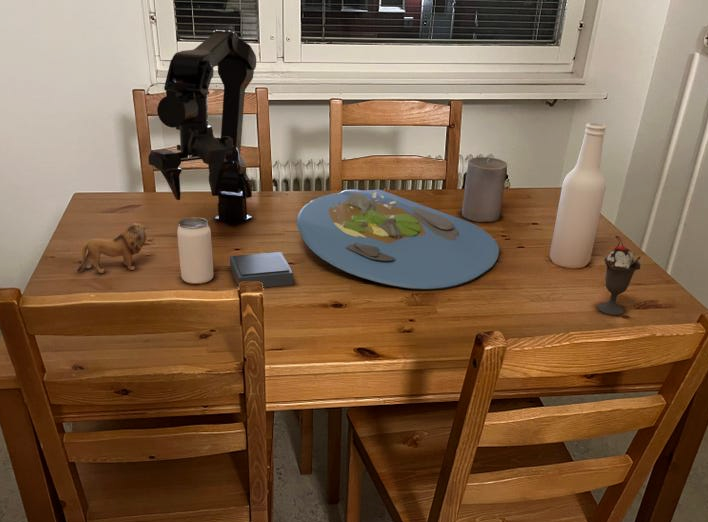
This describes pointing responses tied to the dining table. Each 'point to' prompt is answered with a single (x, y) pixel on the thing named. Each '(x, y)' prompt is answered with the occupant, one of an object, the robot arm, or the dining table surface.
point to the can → (195, 250)
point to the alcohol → (580, 204)
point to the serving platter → (395, 240)
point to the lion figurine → (115, 247)
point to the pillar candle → (484, 189)
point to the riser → (262, 269)
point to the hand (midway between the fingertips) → (196, 196)
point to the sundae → (618, 276)
